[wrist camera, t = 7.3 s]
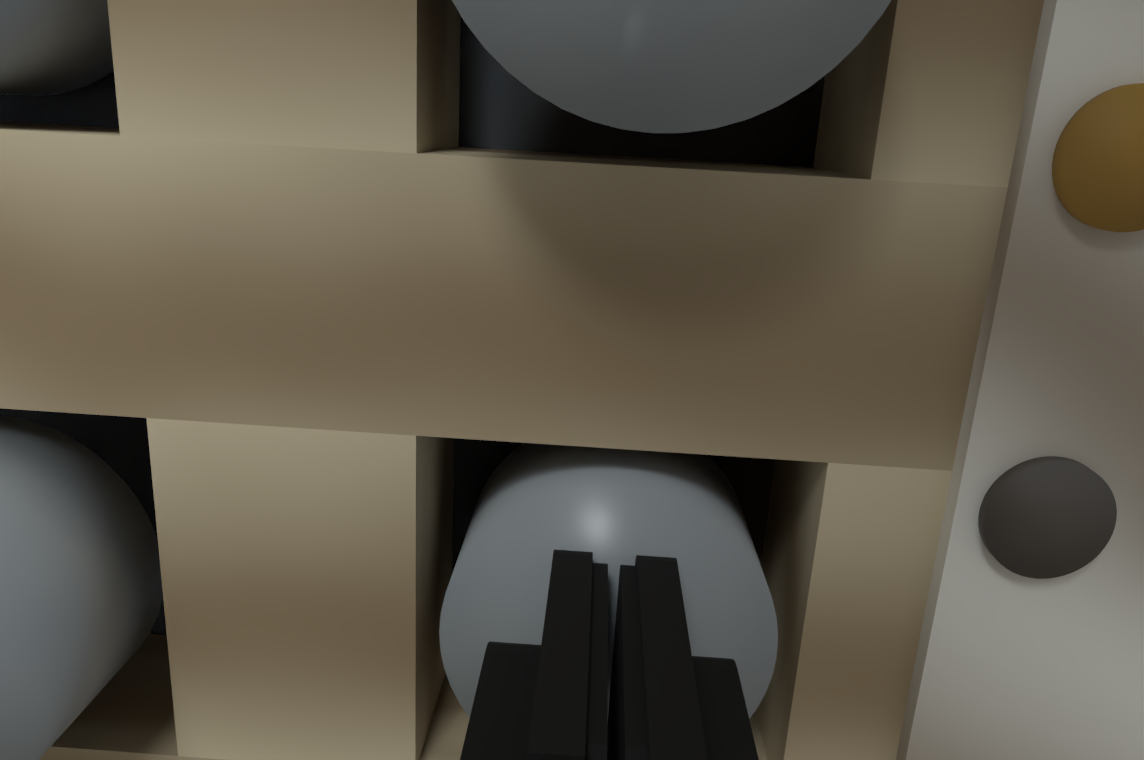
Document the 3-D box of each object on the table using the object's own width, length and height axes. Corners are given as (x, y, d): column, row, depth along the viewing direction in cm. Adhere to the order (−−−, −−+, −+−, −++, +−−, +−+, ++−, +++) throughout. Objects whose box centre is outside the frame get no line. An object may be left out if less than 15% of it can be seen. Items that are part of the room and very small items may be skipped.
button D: (473, 407, 14) (441, 475, 11) (761, 425, 14) (798, 499, 11) (467, 655, 15) (438, 770, 12) (730, 674, 15) (757, 794, 12)
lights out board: (-384, -466, 11) (-800, -713, 8) (1476, -390, 11) (1867, -622, 7) (-135, 694, 17) (-324, 839, 13) (1129, 787, 16) (1268, 964, 13)
